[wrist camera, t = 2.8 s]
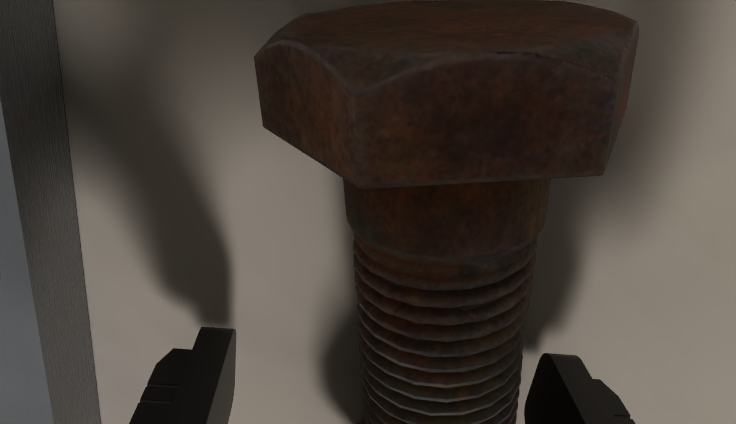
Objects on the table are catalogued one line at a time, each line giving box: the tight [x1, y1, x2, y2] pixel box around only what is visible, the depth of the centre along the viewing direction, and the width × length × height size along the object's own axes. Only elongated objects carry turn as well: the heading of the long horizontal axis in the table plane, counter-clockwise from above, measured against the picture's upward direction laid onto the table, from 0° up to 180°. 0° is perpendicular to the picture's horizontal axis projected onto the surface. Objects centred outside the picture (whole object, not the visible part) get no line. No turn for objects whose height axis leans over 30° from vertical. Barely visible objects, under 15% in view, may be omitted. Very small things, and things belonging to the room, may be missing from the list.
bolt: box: [254, 0, 639, 424], centre depth 11 cm, size 6×5×15 cm
